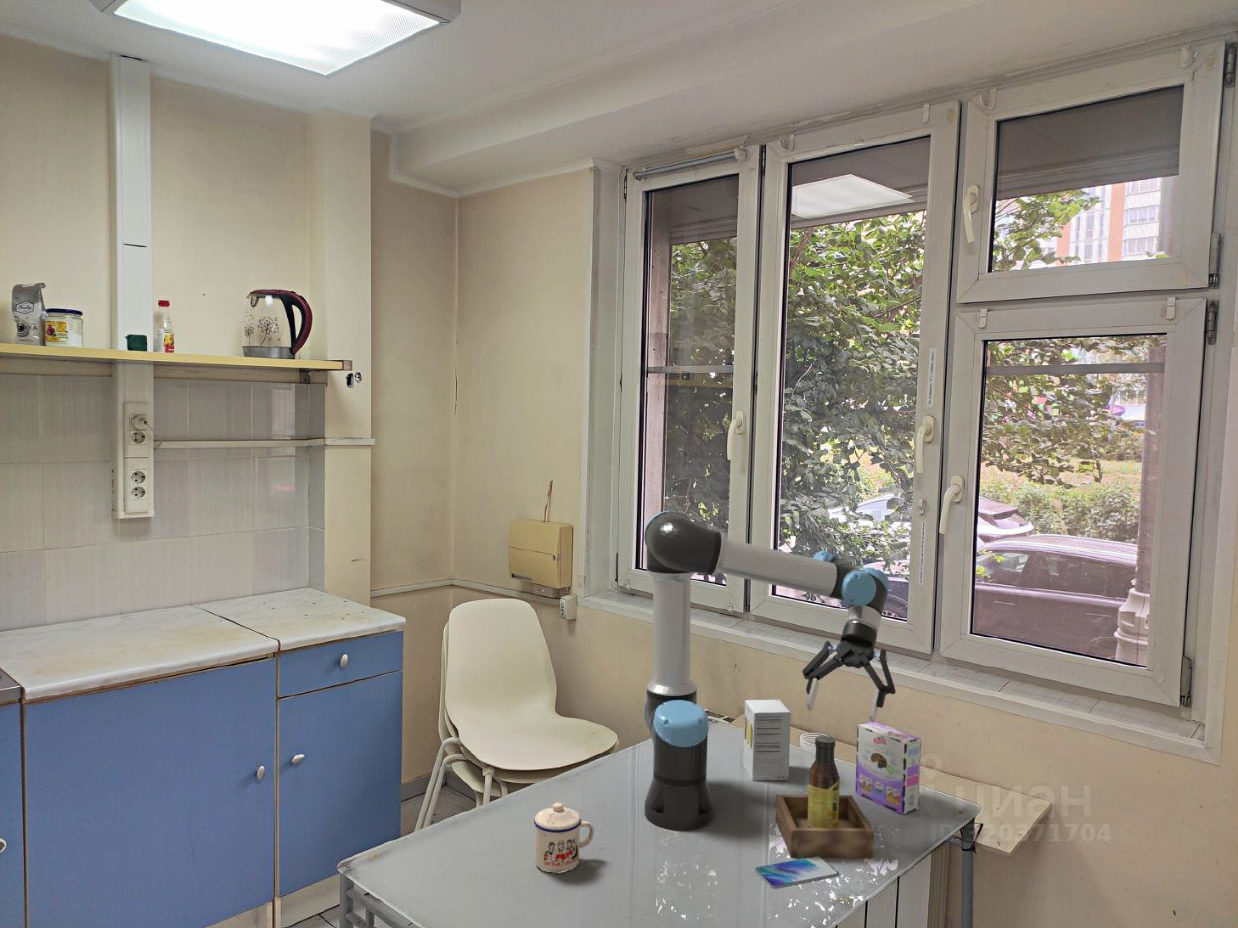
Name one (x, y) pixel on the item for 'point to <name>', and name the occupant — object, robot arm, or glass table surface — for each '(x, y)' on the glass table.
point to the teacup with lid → (559, 838)
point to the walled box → (824, 830)
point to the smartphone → (796, 872)
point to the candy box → (888, 767)
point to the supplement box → (766, 740)
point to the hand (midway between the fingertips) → (839, 713)
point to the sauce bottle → (823, 786)
